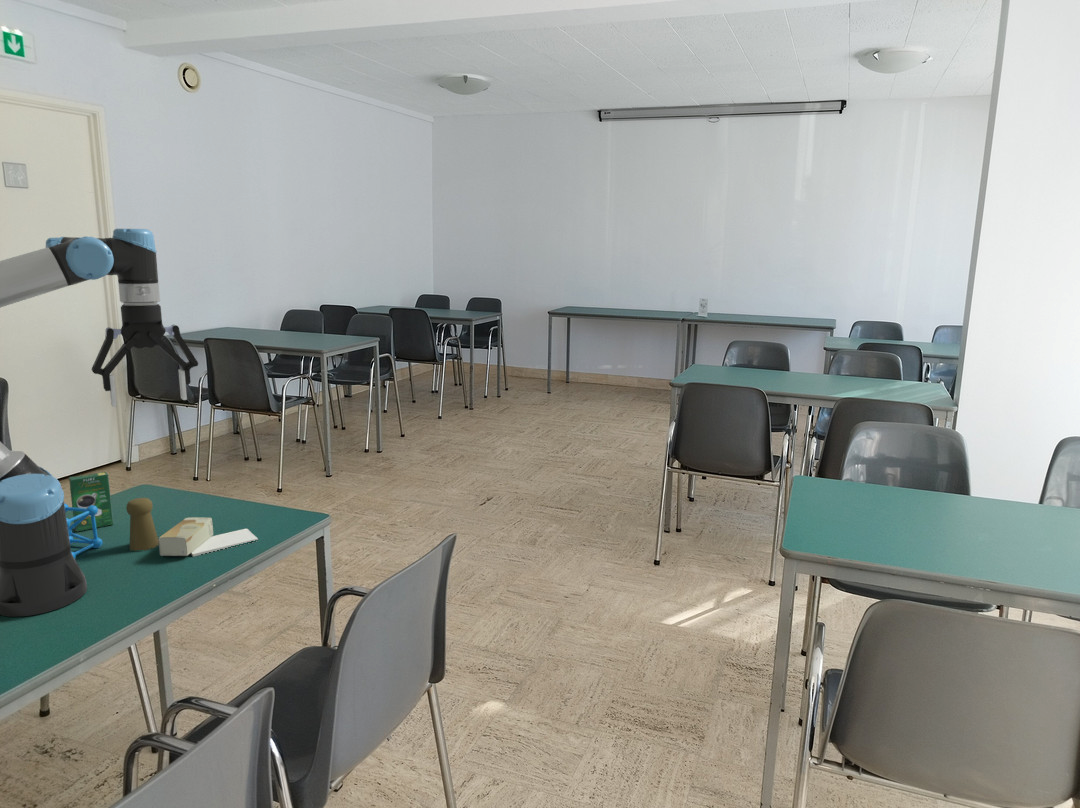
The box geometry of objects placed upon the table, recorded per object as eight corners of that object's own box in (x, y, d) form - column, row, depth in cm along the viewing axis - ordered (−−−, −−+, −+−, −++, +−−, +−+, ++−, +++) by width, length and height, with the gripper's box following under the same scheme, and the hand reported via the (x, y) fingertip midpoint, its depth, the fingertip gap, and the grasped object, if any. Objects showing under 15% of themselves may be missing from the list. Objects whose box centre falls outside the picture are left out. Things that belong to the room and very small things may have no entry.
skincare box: (212, 517, 174) (186, 537, 162) (214, 534, 175) (188, 556, 163) (184, 517, 175) (157, 537, 163) (186, 534, 175) (159, 556, 164)
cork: (123, 549, 169) (116, 502, 167) (144, 539, 175) (138, 493, 172) (144, 552, 167) (138, 505, 165) (165, 542, 173) (160, 496, 170)
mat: (193, 556, 165) (192, 554, 164) (183, 545, 171) (183, 542, 171) (258, 541, 173) (257, 538, 173) (247, 530, 179) (246, 528, 179)
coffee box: (112, 521, 186) (105, 470, 183) (115, 524, 183) (108, 473, 181) (74, 529, 181) (67, 476, 178) (76, 532, 179) (69, 479, 176)
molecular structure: (70, 564, 161) (63, 520, 159) (30, 560, 163) (23, 517, 161) (105, 546, 171) (99, 504, 169) (67, 542, 173) (61, 501, 171)
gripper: (73, 306, 149) (85, 412, 153) (207, 302, 163) (215, 399, 168) (69, 304, 155) (81, 405, 159) (199, 300, 169) (207, 393, 174)
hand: (149, 402), depth 164 cm, fingers open, 13 cm apart
